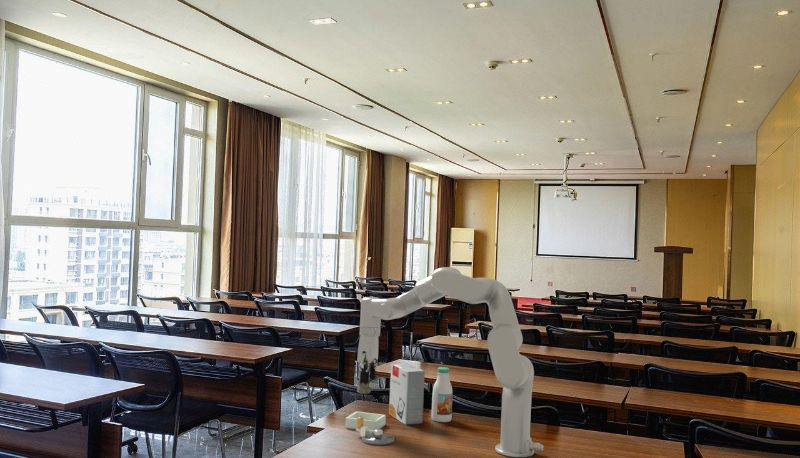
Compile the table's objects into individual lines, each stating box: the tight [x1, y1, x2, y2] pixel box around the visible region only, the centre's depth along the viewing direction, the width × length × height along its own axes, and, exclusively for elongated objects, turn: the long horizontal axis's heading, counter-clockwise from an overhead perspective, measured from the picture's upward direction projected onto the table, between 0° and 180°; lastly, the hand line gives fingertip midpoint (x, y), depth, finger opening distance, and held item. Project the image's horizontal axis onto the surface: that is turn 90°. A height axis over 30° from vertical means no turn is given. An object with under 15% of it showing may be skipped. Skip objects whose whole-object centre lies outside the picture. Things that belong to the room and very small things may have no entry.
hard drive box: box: [388, 363, 426, 426], centre depth 256 cm, size 16×8×20 cm, turn 25°
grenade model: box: [356, 358, 379, 395], centre depth 243 cm, size 6×7×15 cm
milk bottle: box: [431, 366, 453, 423], centre depth 257 cm, size 8×8×20 cm
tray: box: [344, 411, 387, 430], centre depth 243 cm, size 12×11×4 cm
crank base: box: [359, 426, 395, 446], centre depth 225 cm, size 12×11×4 cm
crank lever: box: [355, 417, 384, 438], centre depth 227 cm, size 10×3×5 cm, turn 58°
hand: (367, 380), depth 243 cm, fingers closed on grenade model, 5 cm apart
